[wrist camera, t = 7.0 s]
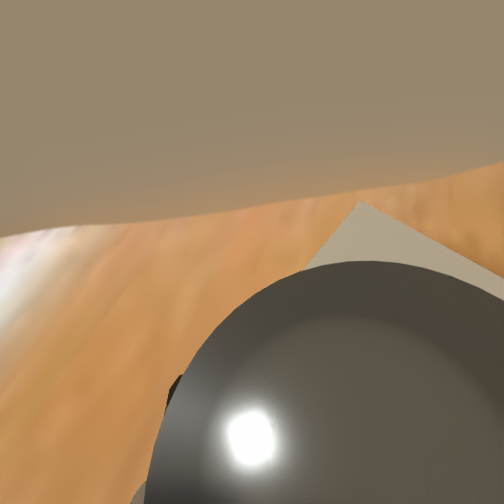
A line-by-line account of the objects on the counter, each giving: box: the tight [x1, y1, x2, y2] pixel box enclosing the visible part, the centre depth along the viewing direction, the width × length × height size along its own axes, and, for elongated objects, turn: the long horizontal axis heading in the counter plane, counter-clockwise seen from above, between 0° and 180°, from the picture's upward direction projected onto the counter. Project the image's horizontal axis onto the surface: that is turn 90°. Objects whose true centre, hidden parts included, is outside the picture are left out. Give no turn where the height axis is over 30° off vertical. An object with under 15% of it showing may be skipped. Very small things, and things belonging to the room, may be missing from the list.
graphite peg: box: [144, 261, 504, 504], centre depth 8 cm, size 3×3×14 cm
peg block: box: [302, 201, 504, 300], centre depth 21 cm, size 20×12×4 cm, turn 50°
